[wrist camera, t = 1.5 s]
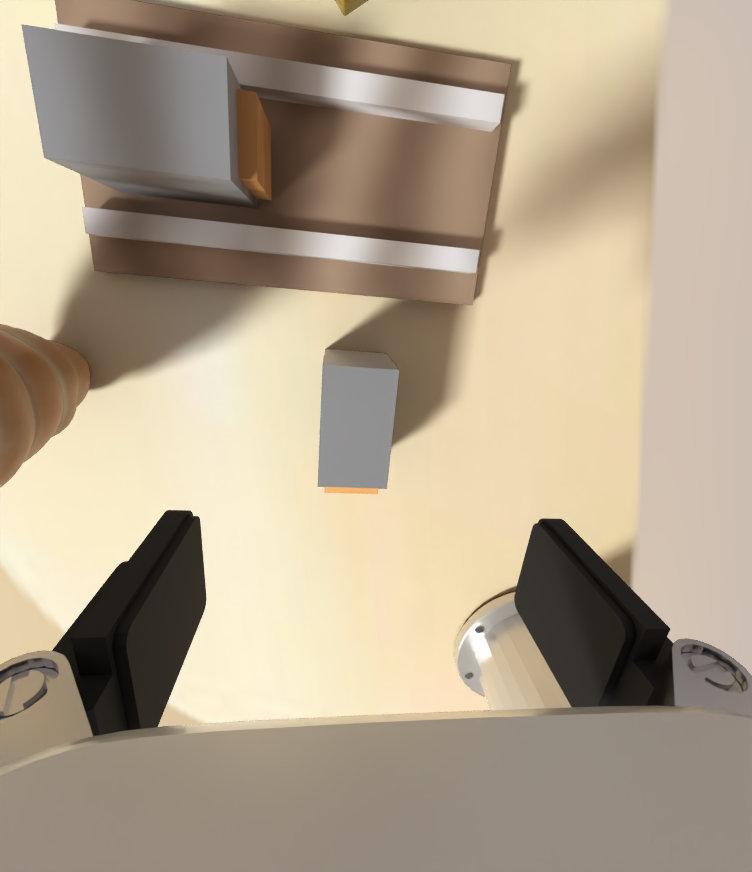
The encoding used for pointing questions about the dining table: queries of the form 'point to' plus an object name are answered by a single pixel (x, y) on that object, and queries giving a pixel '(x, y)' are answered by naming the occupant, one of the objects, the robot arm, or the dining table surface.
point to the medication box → (349, 5)
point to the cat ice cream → (35, 394)
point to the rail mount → (269, 150)
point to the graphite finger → (356, 421)
